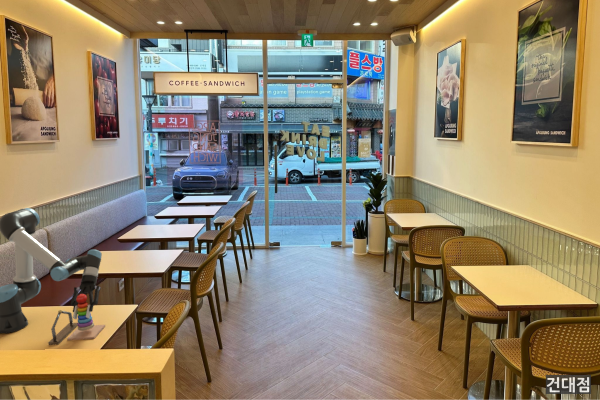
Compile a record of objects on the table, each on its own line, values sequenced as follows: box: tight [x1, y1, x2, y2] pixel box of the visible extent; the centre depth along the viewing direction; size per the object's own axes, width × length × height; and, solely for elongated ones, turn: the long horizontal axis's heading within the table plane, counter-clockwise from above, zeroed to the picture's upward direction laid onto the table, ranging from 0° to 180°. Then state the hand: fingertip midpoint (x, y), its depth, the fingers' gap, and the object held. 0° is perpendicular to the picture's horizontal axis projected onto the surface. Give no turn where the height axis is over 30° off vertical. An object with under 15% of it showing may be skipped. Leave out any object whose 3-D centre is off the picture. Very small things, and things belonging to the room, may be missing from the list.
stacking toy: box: [76, 293, 95, 331], centre depth 244 cm, size 8×8×19 cm
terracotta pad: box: [66, 324, 106, 341], centre depth 246 cm, size 14×14×1 cm
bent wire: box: [47, 309, 78, 346], centre depth 244 cm, size 22×5×14 cm, turn 1°
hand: (81, 317), depth 240 cm, fingers closed on stacking toy, 6 cm apart
